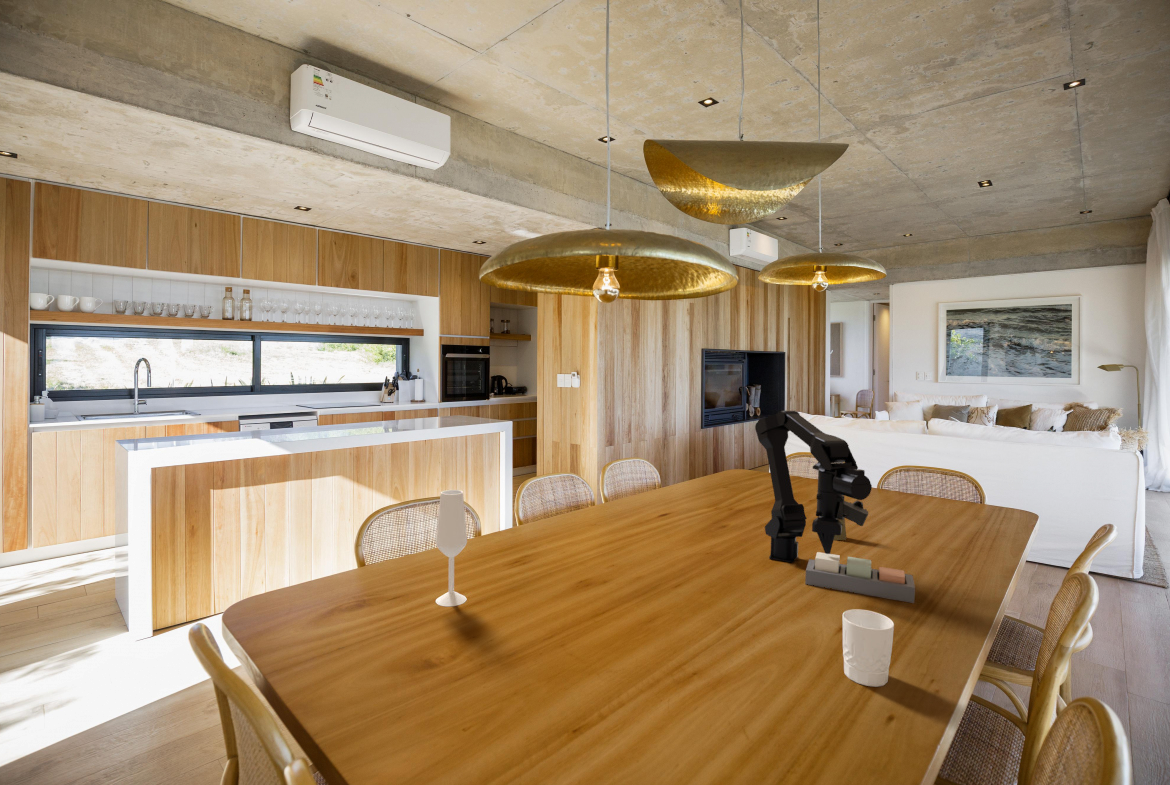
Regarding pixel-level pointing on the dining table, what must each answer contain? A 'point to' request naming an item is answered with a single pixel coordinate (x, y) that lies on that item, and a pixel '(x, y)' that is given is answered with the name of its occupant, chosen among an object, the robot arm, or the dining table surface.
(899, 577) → the terracotta key
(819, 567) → the cream key
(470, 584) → the dining table surface
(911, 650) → the dining table surface
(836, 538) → the olive pepper mill
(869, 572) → the sage key
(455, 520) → the champagne flute
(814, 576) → the keypad
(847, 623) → the white cup
